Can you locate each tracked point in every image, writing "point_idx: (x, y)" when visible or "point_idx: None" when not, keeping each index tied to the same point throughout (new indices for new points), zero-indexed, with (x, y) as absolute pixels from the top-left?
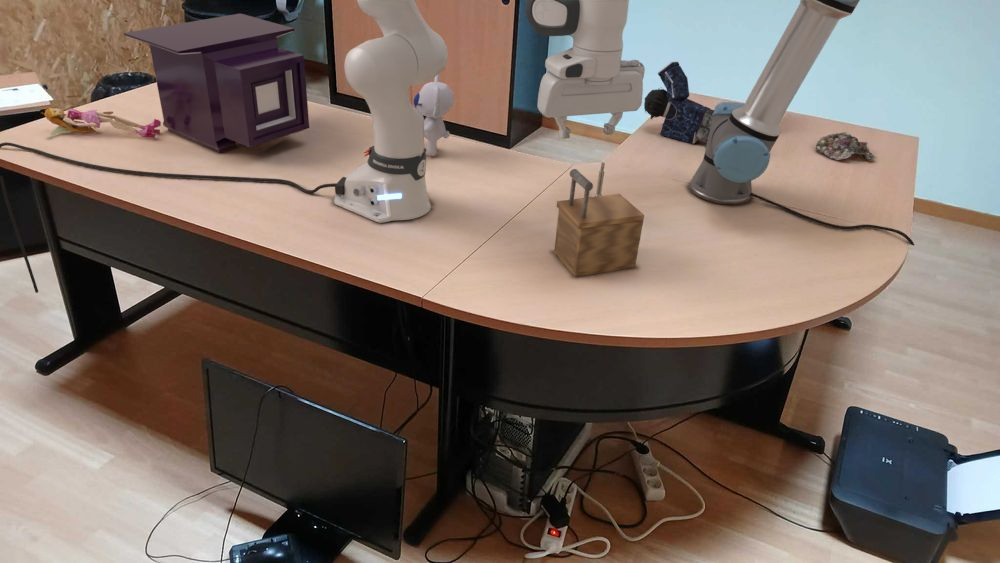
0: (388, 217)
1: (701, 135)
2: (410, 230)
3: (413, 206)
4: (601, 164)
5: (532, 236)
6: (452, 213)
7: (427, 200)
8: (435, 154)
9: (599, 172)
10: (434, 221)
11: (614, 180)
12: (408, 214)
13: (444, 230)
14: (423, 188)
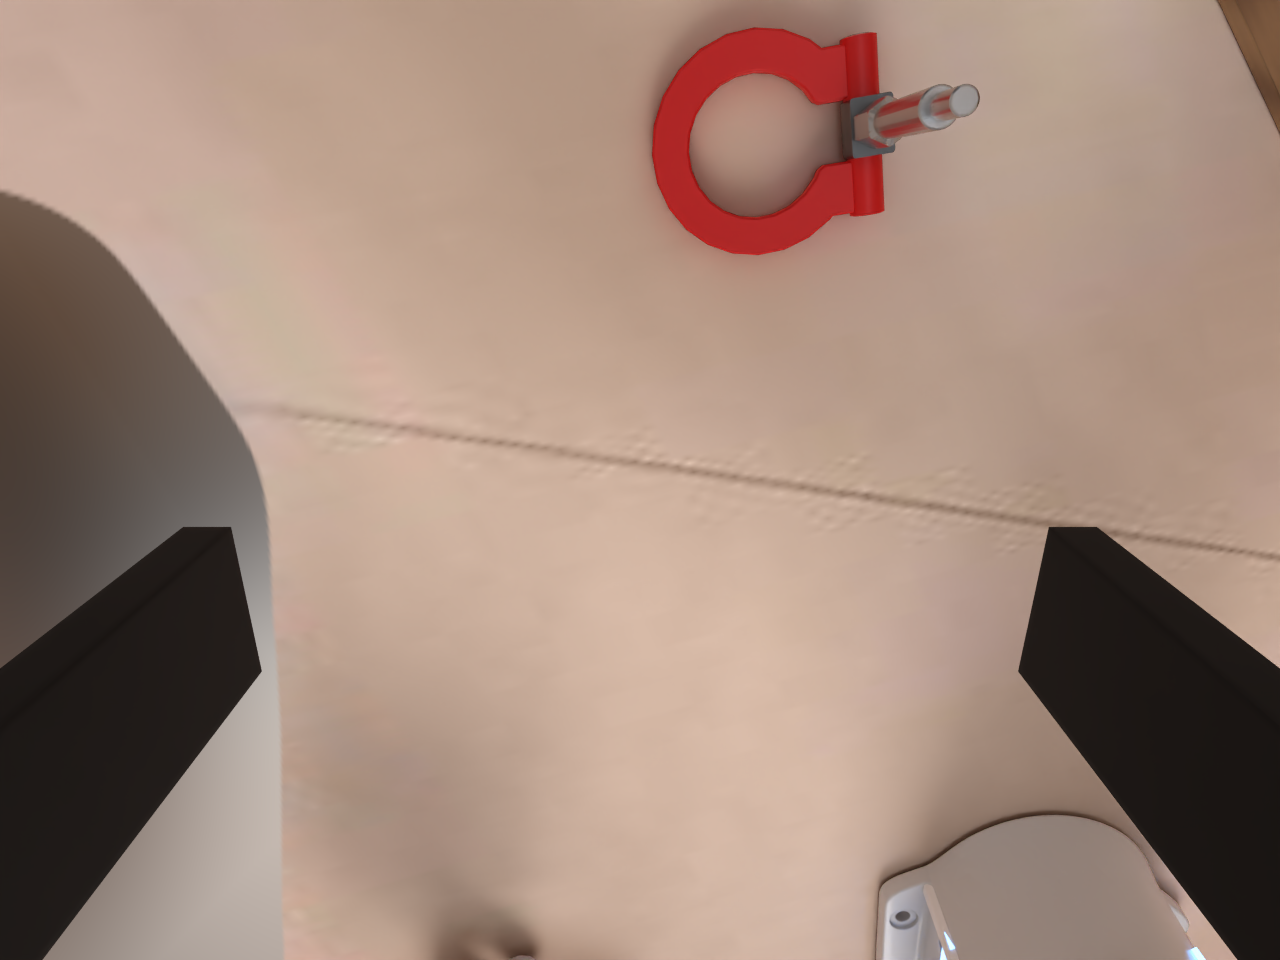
0: (1173, 907)
1: None
2: None
3: (1142, 879)
4: (966, 114)
5: (1177, 387)
6: (1031, 738)
7: (1053, 855)
8: (524, 957)
9: (949, 125)
10: None
11: (309, 115)
12: (1144, 865)
13: None
14: (1108, 916)
